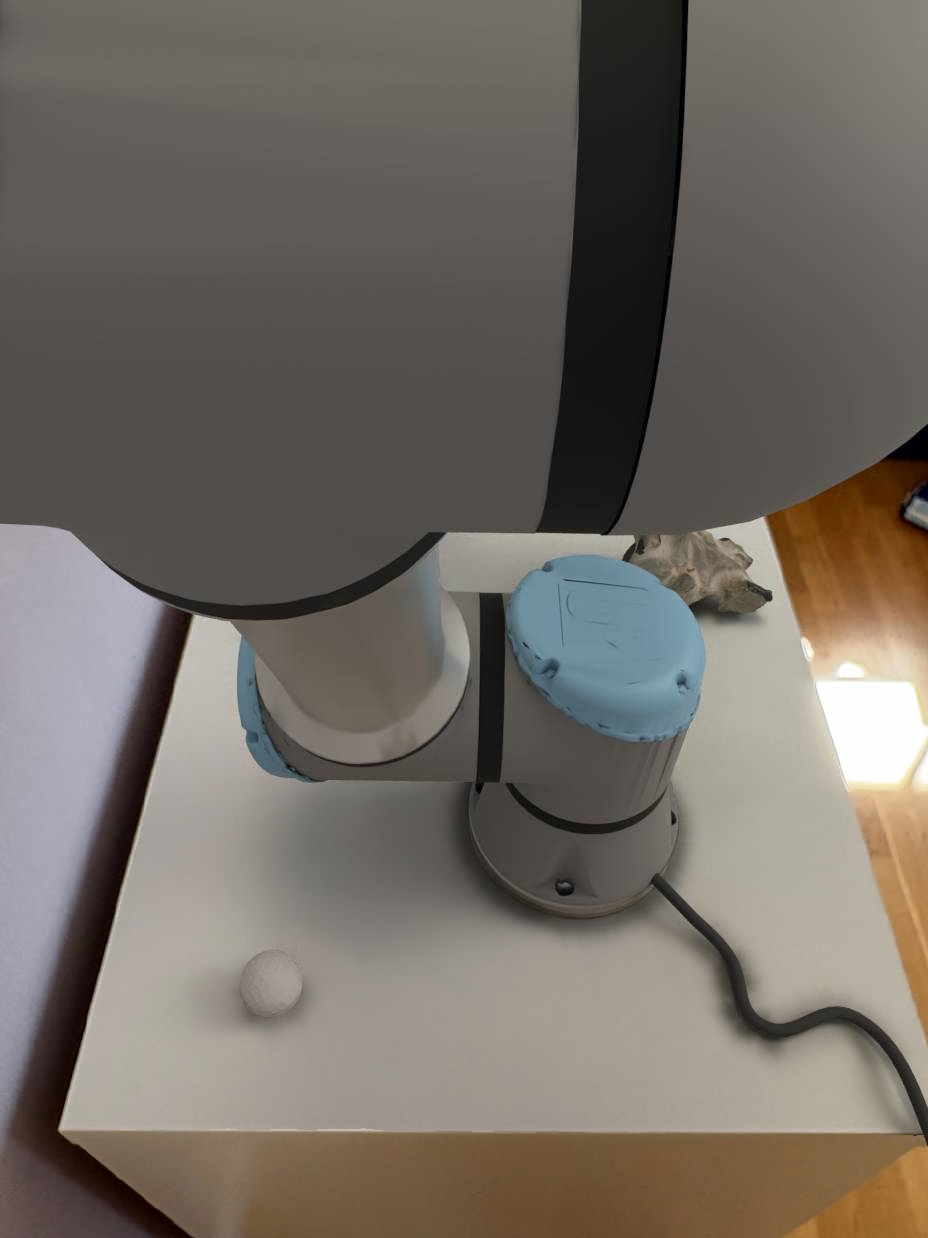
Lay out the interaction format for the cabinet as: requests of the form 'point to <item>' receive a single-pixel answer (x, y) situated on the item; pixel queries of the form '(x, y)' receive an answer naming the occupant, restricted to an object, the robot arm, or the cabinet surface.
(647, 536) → the decorative stone
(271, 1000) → the golf ball
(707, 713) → the cabinet surface
